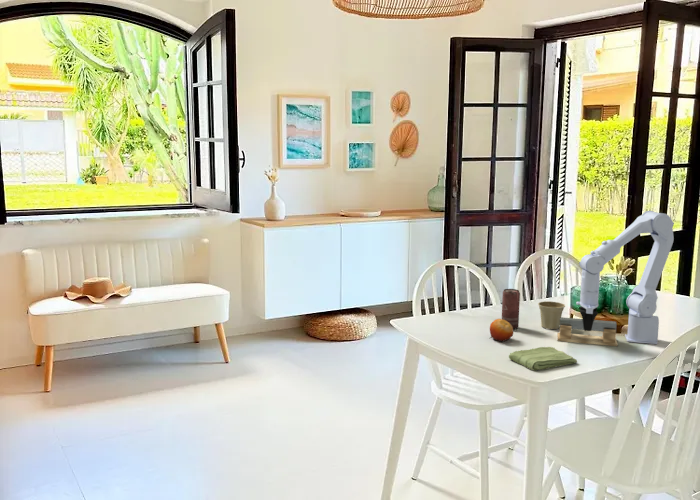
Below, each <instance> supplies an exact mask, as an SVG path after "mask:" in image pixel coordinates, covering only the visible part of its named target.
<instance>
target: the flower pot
mask: <svg viewBox="0 0 700 500" xmlns="http://www.w3.org/2000/svg"><path fill="white" fill-rule="evenodd" d="M537 305H538V307H539V312H540V313H539V314H540V322H541V323H540V324H541V327H542V328H543V329H547V330H553V329H554V330H558V329H560V317H563V311H564V309H565V307H566V304H564V303H562V302H558V301H546V300H545V301H540V302H538V303H537Z"/></svg>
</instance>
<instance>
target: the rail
mask: <svg viewBox="0 0 700 500" xmlns="http://www.w3.org/2000/svg"><path fill="white" fill-rule="evenodd" d="M560 325H564V326H572V327H571V330H579V331H580V330H581V331H584V326H583V318H576V317H575V318H573V317H564V316H561V317H560ZM560 325H559V326H560ZM604 329H613V330H616V331H617V321H612V320H599V319H594V322H593V325H592V329H591V331H590V332H594V331H595V332H602V333H603V332H604Z"/></svg>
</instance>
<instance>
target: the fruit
mask: <svg viewBox="0 0 700 500" xmlns="http://www.w3.org/2000/svg"><path fill="white" fill-rule="evenodd" d="M489 333H490V334H489V335H490V337H489V339H491V338H492V339H493V340H495V341H497V342H505V341H507V340H509V339H511V338H512V337H513V335H514V330H513V327H512V325H511V324H510V323H509V322H507V321H506V320H502V318H496V319H494V320H493V321H492V322H491V323H490V326H489Z"/></svg>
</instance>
